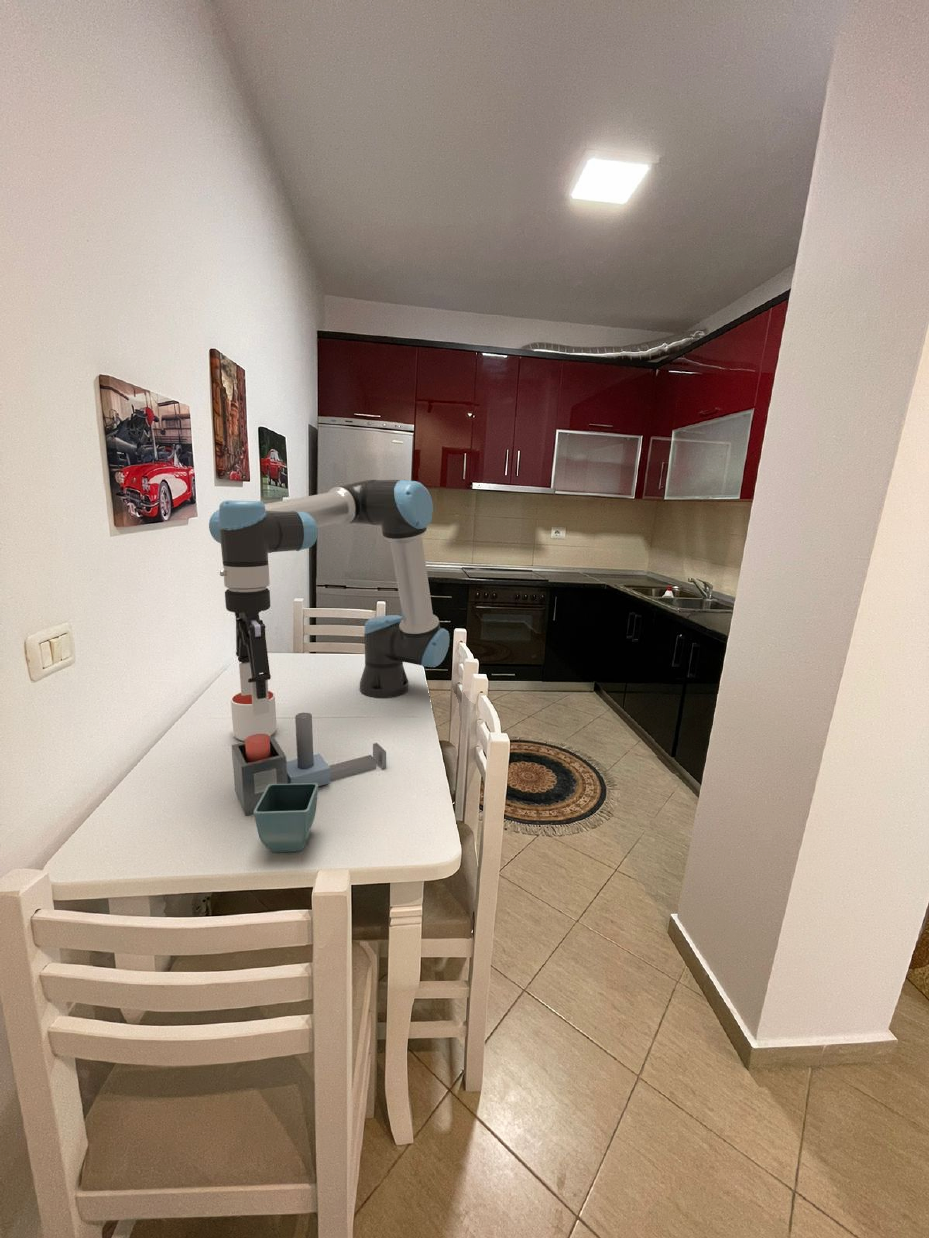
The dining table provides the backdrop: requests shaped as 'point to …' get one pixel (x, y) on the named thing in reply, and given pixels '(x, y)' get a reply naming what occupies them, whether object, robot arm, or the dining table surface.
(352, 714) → the dining table surface
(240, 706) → the cup
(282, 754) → the open box
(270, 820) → the flower pot
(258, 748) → the button
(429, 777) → the dining table surface
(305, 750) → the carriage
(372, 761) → the rail
